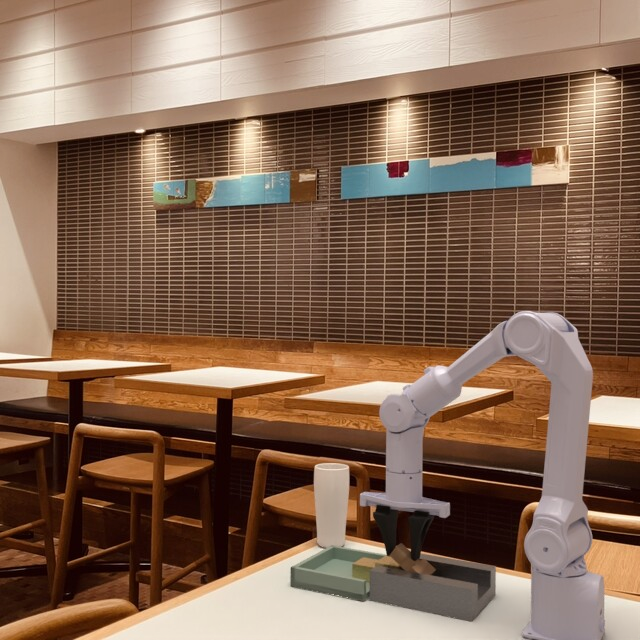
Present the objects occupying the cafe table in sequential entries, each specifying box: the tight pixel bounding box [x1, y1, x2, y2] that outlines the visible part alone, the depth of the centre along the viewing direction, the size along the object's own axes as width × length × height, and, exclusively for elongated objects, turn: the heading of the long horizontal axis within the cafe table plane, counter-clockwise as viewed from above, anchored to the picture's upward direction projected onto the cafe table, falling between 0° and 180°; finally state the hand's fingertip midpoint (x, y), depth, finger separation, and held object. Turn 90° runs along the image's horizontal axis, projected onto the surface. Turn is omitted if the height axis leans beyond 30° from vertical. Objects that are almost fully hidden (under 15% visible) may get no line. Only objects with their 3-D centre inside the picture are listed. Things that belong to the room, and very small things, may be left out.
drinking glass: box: [313, 462, 350, 549], centre depth 141 cm, size 7×7×15 cm
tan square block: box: [375, 556, 405, 571], centre depth 118 cm, size 4×4×2 cm
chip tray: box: [289, 545, 387, 602], centre depth 121 cm, size 13×14×3 cm
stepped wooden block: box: [390, 542, 436, 576], centre depth 116 cm, size 2×5×6 cm
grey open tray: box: [369, 553, 497, 622], centre depth 114 cm, size 16×12×4 cm
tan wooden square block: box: [352, 557, 378, 583], centre depth 120 cm, size 4×4×2 cm
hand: (403, 556), depth 117 cm, fingers closed on stepped wooden block, 3 cm apart
